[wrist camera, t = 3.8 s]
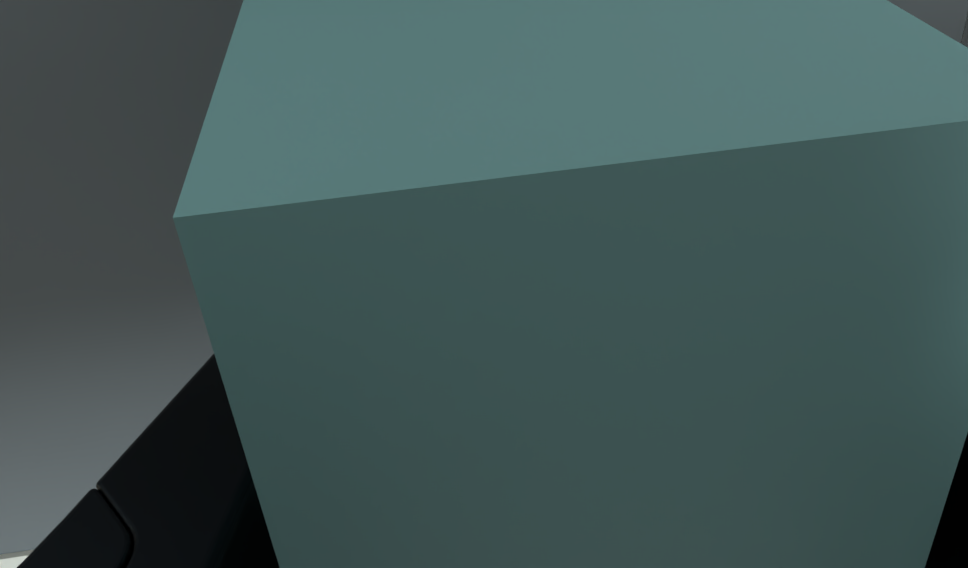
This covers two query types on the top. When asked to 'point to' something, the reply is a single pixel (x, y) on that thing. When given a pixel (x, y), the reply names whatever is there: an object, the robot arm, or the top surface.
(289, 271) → the teal block
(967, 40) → the top surface
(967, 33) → the top surface
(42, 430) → the board
